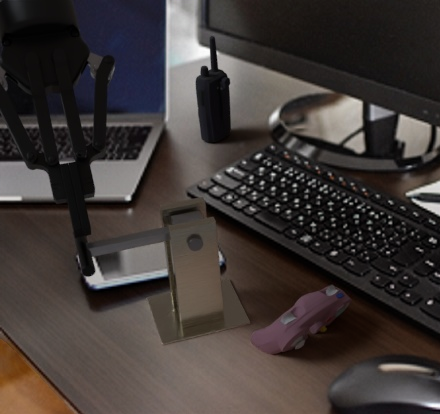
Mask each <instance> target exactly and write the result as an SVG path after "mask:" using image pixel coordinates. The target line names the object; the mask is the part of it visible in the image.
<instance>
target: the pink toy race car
mask: <svg viewBox="0 0 440 414" xmlns="http://www.w3.org/2000/svg"><path fill="white" fill-rule="evenodd" d="M352 300H353V299H351V297H349V295H348V294H347V293H346V292H345V291H344V290H343V289H342V288H339V287H337V286H335V285H334V284H330V285H327V286H326V287H324V288H322V289H319V290H317V291H314V292H313V291H312V292H309V293H306V294H303V295H301V297H299V299H297V300H296V302H295V303H294V305H293V306H292V307H290V308H289V309H288V310H287V311H285V312H284V313H282V314H281V315H280V316H279V317H278V318H277V319H275V321H273V322H272V323H271V324H270V325H268V326H266V327H263V328H259V329H257V330H255V331H253V333H252V334H251V336H250V342H251V344H252V345H253V346H254V347H255V348H256V349H257V350H259V351H261V352H263V353H265V354H268V355H276V354H280V353H281V352H282V353H284V352H289V351H292V350H293V349H294V350H299V349H301V348H302V347H303V346H304V345H305V342H306V340H308V338H309V335H308V333H309V332H310V333H311V334H313V335H315V334H317V333H318V332H320V333H324V332H326V331H327V329H328V328H327V326H329V325H330V324H332V322H334V321H335V319H337V318H338V317H339V316H340V315H341V314H342V313H343V312H345V311H346V310H347V309H348V308H349V306H350V305H351V303H352Z"/></svg>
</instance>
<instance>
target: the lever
mask: <svg viewBox="0 0 440 414" xmlns="http://www.w3.org/2000/svg"><path fill="white" fill-rule="evenodd" d="M199 219H203V217H202V215H201V213H200V211H193V212H189V213H184V214H179V215H174V216H171V221H172V225H174V224H179V223H184V222H189V221H194V220H199ZM72 236H73V240H74V244H75V248H76V253H77V258H78V262H79V266H80V270H81V275H82V276H84V277H87V278H90V277H93V276H94V275H95V274H96V266H95V264H94V262H95V261H94V257H98V256H102V255H103V256H104V255H107V254H108V255H109V254H113V253H117V252H122V251H126V250H130V249H131V250H132V249H136V248H141V247H145V246H150V245H155V244H159V243H164V241H169V231H168V226H166V227H162V226H161V227H156V228H152V229H148V230H142V231H137V232H134V233H128V234H123V235H119V236H114V237H109V238H104V239H100V240H95V241H90V242H89V239H88V235H87V236H82V237H77V238H75V237H74V232H73V231H72Z"/></svg>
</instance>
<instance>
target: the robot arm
mask: <svg viewBox="0 0 440 414" xmlns="http://www.w3.org/2000/svg"><path fill="white" fill-rule="evenodd" d="M0 47H1V51H0V115H1V117H2V119H3V121H4V123H5V126H6V128H7V130H8V131H9V134H10V136H11V138H12V140H13V142H14V144H15V146H16V148H17V150H18V152H19V154H20V156H21V158H22V160H23V162H24V164H25V167H27V169H28V170H31V171H35V170H41V171H43V172H45V173H46V174H47V175H48V180H49V184H50V189H51V194H52V199H53V201H54V202H55V204H56V205H59V204H64V203H65V204H66V203H67V208H68V213H69V218H70V222H71V227H72V233H73V232H74V236H73V238H74V237H75V238H77V237H82V236H87V237H88V236H92V226H91V223H90V221H91V220H90V217H89V214H88V208H87V203H86V200H87V199H92V198H95V195H96V186H95V181H94V177H93V172H92V167H91V165H92V163H93V162H94V161H96V160H98V159H102V158H105V156H106V154H107V153H106V151H107V150H106V149H107V125H108V124H107V123H108V95H109V94H108V89H109V86H110V84H111V81H112V79H113V77H114V75H115V70H116V68H115V67H116V59H115V58H114V56H113V55H111V54H105V55H104V56H101V55H98V54H96V53H93V52H91V49H90V46H89V45H88V43H86V42H85V40H84V39H83V37H82V35H81V30H80V26H79V21H78V17H77V11H76V9H75V4H74V1H73V0H0ZM87 66H88V67H89V69H90V71H89V72H90V77H91V78H92V79H94V91H93V93H94V94H93V119H92V120H93V121H92V123H93V124H92V142H91V143H89V144H86V140H85V139H86V138H85V135H84V131H83V130H84V129H83V127H82V122H81V118H80V113H79V108H78V104H77V99H76V95H75V91H74V90H75V89H74V88H76V86H77V85H78V83H79V81H80V79H81V77H82V75H83V73H84V71H85V70H86V69H87ZM7 78H9V79H10V80H11V81H12V82H14V84H16V85H17V86H18V87H19V88H21V89H22V91H24V92H25V93H26V94H28V95H30V96H32V100H33V101H32V102H33V105H34V110H35V116H36V120H37V126H38V131H39V136H40V140H41V145H42V150H43V152H38V151H37V150H36V148H35V146H34V144H33V141H31V138H30V136H29V134H28V132H27V131H26V128H25V126H24V124H23V121H22V120H21V117H20V116H19V114H18V112H17V110H16V108H15V106H14V104H13V101H12V99H11V98H10V96H9V93H8V92H7V91H8V89H9V85H8V80H7ZM52 94H55V95H57V94H58V95H59V96H60V101H61V105H62V109H63V113H64V118H65V124H66V128H67V131H68V137H69V141H70V147H71V150H72V154H73V159H74V161H69V162H64V163H61V162H60V157H59V152H58V148H57V143H56V142H57V141H56V137H55V132H54V128H53V123H52V118H51V113H50V109H49V103H48V100H47V96H49V95H52Z"/></svg>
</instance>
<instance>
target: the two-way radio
mask: <svg viewBox="0 0 440 414" xmlns="http://www.w3.org/2000/svg"><path fill="white" fill-rule="evenodd" d="M209 59H210V60H209V61H210V69H209V67H208V66H207V65H201V66H200V74H199V75H197V76H196V78H195V91H196V92H195V94H196V103H197V116H198V122H199V128H200V129H199V131H200V138H201V140H202V141H203V142H206V143H213V144H214V143H215V142H220V141H221V140H223V139H224V138H226V137H228V136H229V135H230V134H231V133H232V118H231V117H232V115H231V95H230V94H231V92H230V85H231V79H230V77H229V76H228V73H226V72H225V71H224V70H223V69H219V62H218V51H217V42H216V37H215V36H214V35H210V36H209Z"/></svg>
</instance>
